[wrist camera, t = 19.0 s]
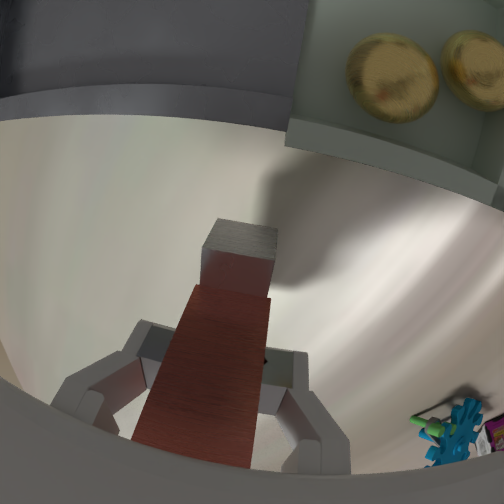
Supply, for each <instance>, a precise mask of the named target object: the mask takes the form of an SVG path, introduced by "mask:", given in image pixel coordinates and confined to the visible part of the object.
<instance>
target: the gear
mask: <svg viewBox="0 0 504 504" xmlns="http://www.w3.org/2000/svg"><path fill="white" fill-rule="evenodd" d="M481 407H482V404H481V401H477V400H475V399H471V398H466V399H465V401H464V404H463V406H460V405H457V406H455V407H454V408H453V409H452V411H451V423H448V422H443V423H442V424H441V420H440V419H438V418H435V417H431V418H430V419H429V420H426V419H423V418H420V417H417V416H411V418H410V422H411V423H414V424H417V425H420V426H422V427H425V429H421V430H420V432H419V437H421V438H424V439H427V440H429V441H432V442H434V443H435V444H436V445H437V446H438V447H439V448H438V447H435V446H431V447H430V448H429V450H428V452H427V454H426V456H425V458H426V459H429V460H431V461H434V460H436V461H435V463H434V464H433V465H432V466H428V465H427V466H425V467H424V468H427V467H433V466H439V465H444V464H449V463H454V462H458V461H463V460H467V458H468V457H469V455H470V452H469V451H468V446H469V442H471V443H475V442H476V440H477V438H478V435H479V433H478V432H475V431H473V429H474V426H475V425H478V426H479V425H480V424H481V422H482V418H483V414H480V413H479V412H480V410H481Z"/></svg>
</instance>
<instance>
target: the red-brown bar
mask: <svg viewBox="0 0 504 504" xmlns="http://www.w3.org/2000/svg"><path fill="white" fill-rule="evenodd" d="M277 234H278V229H277V228H271V227H266V226H260V225H254V224H249V223H243V222H237V221H231V220H226V219H220V218H217V220H216V222H215V224H214V226H213V228H212V229H211V231H210V233H209V235H208V237H207V239H206V241H205V243H204V245H203V246H202V254H201V271H200V285H197V284H196V285H195V287H194V289H193V292H192V294H191V296H190V298H189V301H188V303H187V305H186V307H185V310H184V312H183V314H182V317H181V319H180V321H179V323H178V326H177V328H176V330H175V333H174V335H173V337H172V340H171V342H170V344H169V347H168V349H167V351H166V354H165V356H164V358H163V361H162V363H161V366H160V368H159V370H158V373H157V375H156V378H155V380H154V383H153V385H152V387H151V390H150V392H149V395H148V397H147V400H146V402H145V405H144V407H143V410H142V412H141V415H140V417H139V420H138V422H137V425H136V428H135V430H134V433H133V435H132V438H131V440H132V441H135V442H138V443H141V444H144V445H147V446H150V447H154V448H157V449H161V450H164V451H168V452H171V453H175V454H179V455H183V456H187V457H191V458H195V459H199V460H204V461H209V462H214V463H219V464H224V465H230V466H236V467H242V468H249V469H250V466H251V458H252V451H253V444H254V437H255V429H256V422H257V414H258V406H259V398H260V390H261V382H262V374H263V366H264V357H265V349H266V340H267V331H268V322H269V313H270V304H271V298H267V295H268V291H269V286H270V282H271V277H272V272H273V268H274V263H275V255H276V245H277Z"/></svg>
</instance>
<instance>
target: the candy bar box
mask: <svg viewBox="0 0 504 504" xmlns="http://www.w3.org/2000/svg"><path fill="white" fill-rule="evenodd" d="M478 433H479V435H478V438H477V440H476V442H475V446H476V450H477V454H478V457H479V456H483V455H486V454H489V453H493V452H496V451H504V415H502V416H500V417H498V418H496V419H493V420H491V421H489V422H486V423H484V424H483V426H482V427H481V428H480V430H479V431H478Z"/></svg>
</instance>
